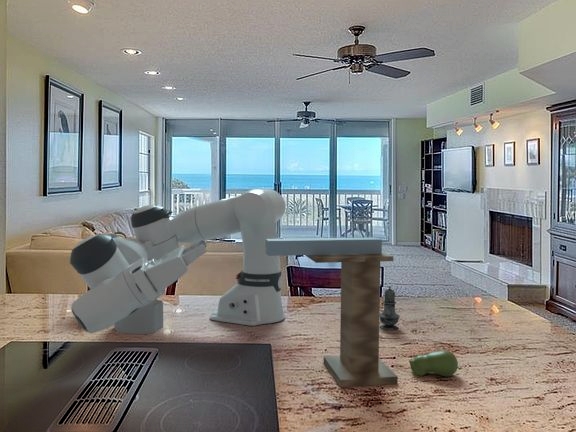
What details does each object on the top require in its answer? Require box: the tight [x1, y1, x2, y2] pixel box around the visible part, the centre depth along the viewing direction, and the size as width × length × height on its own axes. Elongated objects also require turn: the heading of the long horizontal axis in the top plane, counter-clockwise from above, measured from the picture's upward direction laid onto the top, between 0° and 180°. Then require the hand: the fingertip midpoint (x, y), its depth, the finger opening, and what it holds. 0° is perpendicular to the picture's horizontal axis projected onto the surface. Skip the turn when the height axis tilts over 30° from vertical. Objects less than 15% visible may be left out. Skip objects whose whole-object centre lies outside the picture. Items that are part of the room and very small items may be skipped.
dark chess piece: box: [379, 285, 401, 332], centre depth 142 cm, size 6×6×12 cm
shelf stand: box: [304, 251, 399, 388], centre depth 107 cm, size 17×14×26 cm
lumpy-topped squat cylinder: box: [113, 298, 164, 335], centre depth 140 cm, size 10×13×9 cm
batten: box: [266, 236, 383, 257], centre depth 105 cm, size 24×4×3 cm, turn 100°
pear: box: [408, 349, 459, 377], centre depth 107 cm, size 6×5×10 cm
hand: (205, 244), depth 106 cm, fingers open, 8 cm apart
